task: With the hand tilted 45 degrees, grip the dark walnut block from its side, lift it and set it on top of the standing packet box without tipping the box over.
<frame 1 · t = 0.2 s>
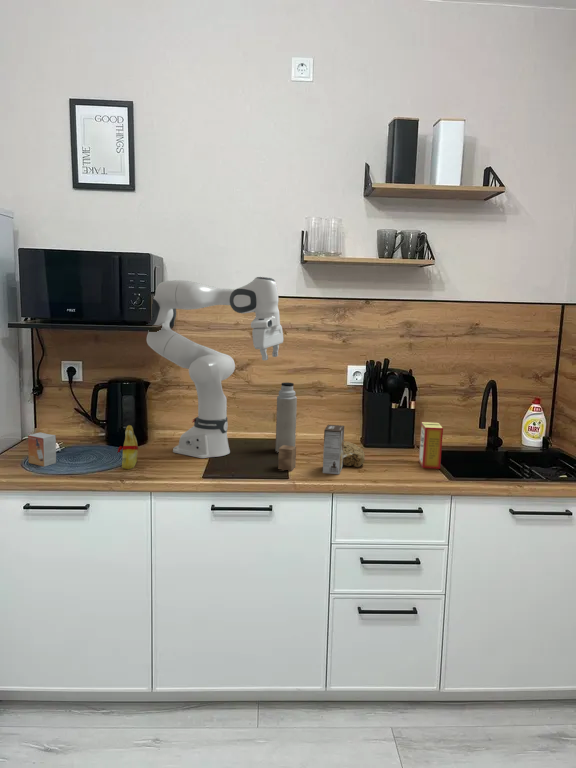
hand: (270, 358, 216), 39 cm above the table, tool pointing down, fingers open, 8 cm apart
coffee box: (332, 470, 211), on the table
chocolate bunny: (127, 466, 209), on the table
walnut block: (286, 468, 211), on the table
thermos bottle: (285, 451, 234), on the table
small box: (42, 463, 209), on the table
sponge: (346, 461, 225), on the table
baking soda box: (429, 465, 222), on the table
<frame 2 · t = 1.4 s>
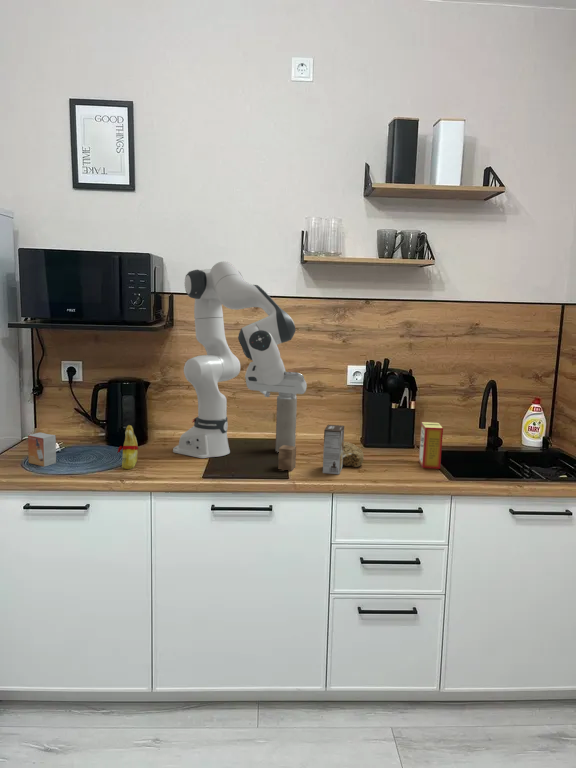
hand: (280, 396, 198), 28 cm above the table, tool tilted 45°, fingers open, 8 cm apart
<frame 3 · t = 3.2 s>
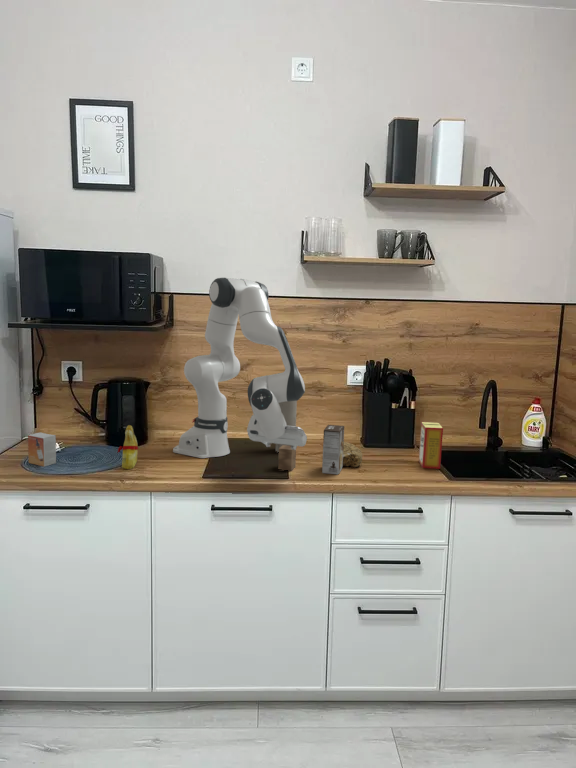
hand: (281, 446, 204), 10 cm above the table, tool tilted 45°, fingers open, 8 cm apart
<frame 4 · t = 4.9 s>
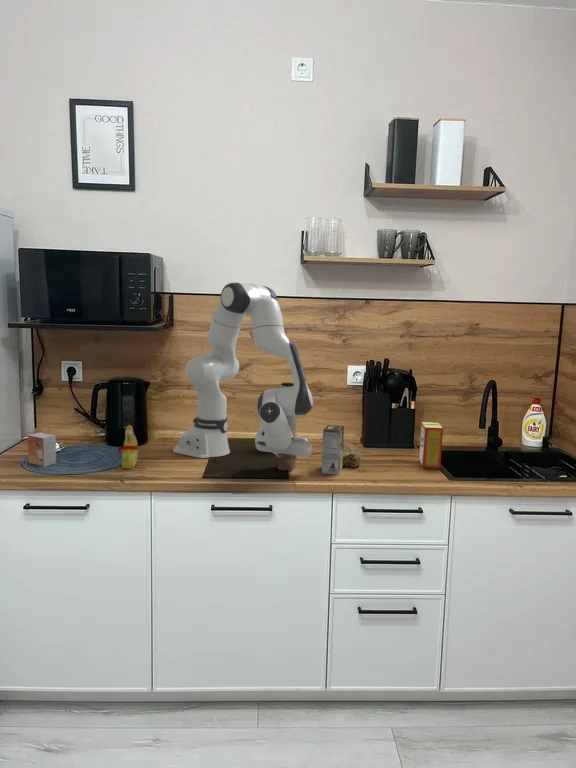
hand: (287, 456, 211), 4 cm above the table, tool tilted 45°, fingers closed on walnut block, 5 cm apart
walnut block: (286, 468, 211), on the table, touching gripper
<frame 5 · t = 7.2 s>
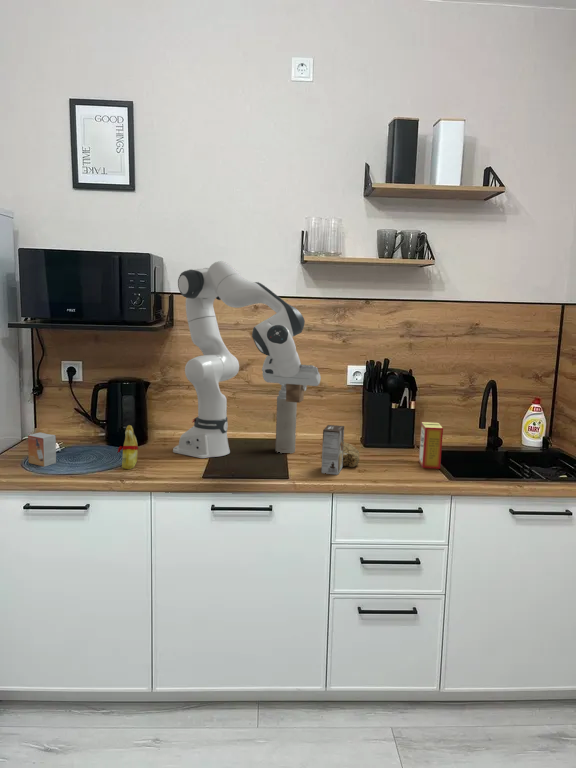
hand: (295, 388, 207), 30 cm above the table, tool tilted 45°, fingers closed on walnut block, 5 cm apart
walnut block: (294, 400, 207), point 25 cm above the table, touching gripper
when the fingers open (22 cm above the table, at t = 9.9 s): walnut block drops 1 cm, resting on coffee box.
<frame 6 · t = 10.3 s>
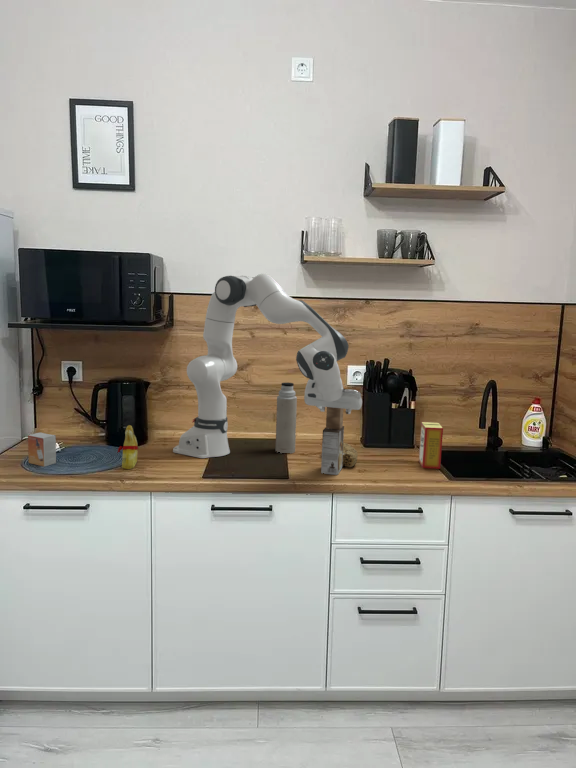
hand: (335, 411, 208), 22 cm above the table, tool tilted 45°, fingers open, 8 cm apart
coffee box: (331, 471, 211), on the table, touching walnut block
walnut block: (334, 427, 209), point 16 cm above the table, touching coffee box
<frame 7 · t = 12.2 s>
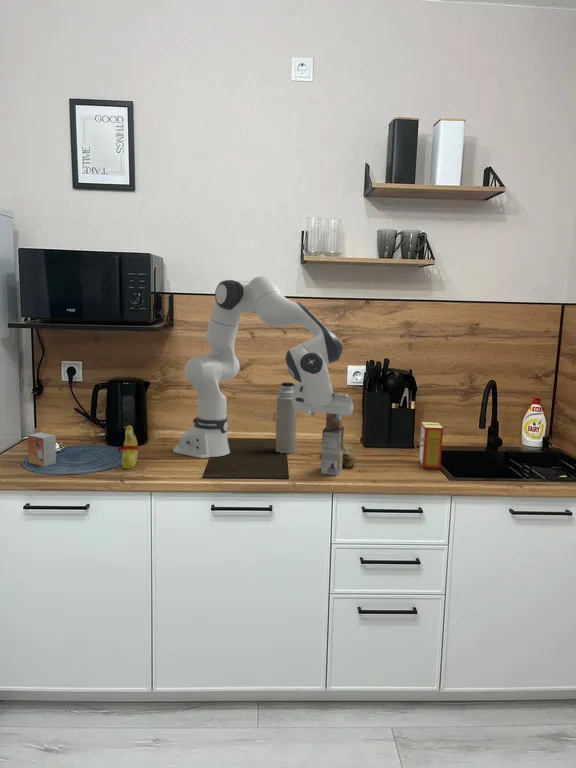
hand: (325, 416, 196), 22 cm above the table, tool tilted 45°, fingers open, 8 cm apart
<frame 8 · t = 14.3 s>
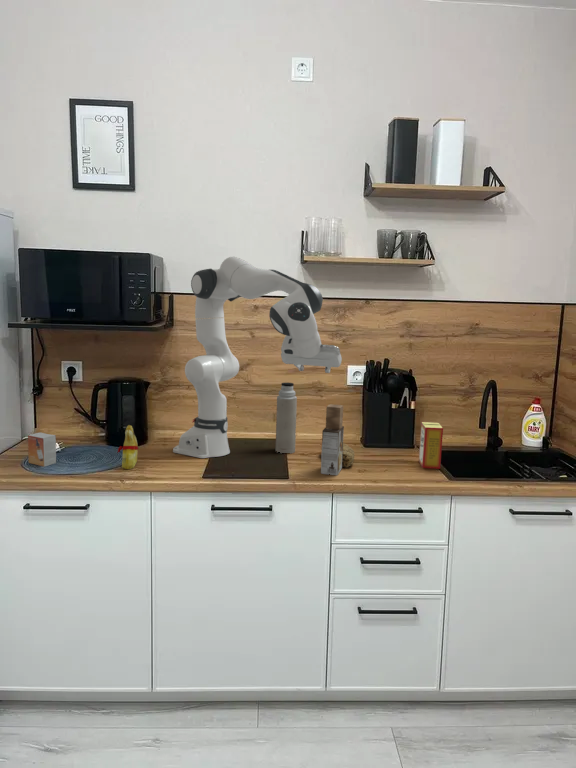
hand: (314, 370, 199), 37 cm above the table, tool tilted 45°, fingers open, 8 cm apart
coffee box: (331, 471, 210), on the table, touching sponge, walnut block
sponge: (337, 461, 224), on the table, touching coffee box
everything else where it was.
at the end: walnut block inside the target area in the coffee box (0.7 cm from its centre), point 16.3 cm above the coffee box's base; walnut block tilted 0°; coffee box tilted 0° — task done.
